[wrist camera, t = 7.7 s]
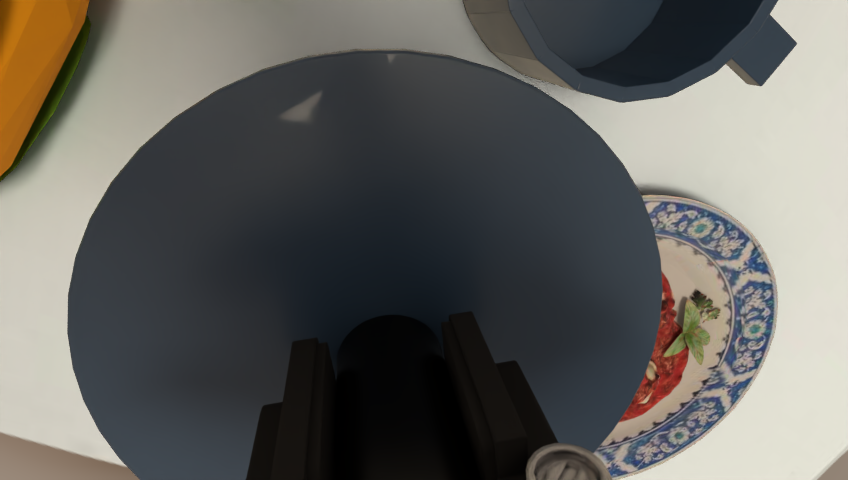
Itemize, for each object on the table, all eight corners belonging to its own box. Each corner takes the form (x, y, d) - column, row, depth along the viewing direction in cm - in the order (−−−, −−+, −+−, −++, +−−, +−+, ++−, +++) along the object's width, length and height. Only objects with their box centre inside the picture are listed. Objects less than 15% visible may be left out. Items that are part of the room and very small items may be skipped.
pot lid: (266, -114, 9) (152, -309, 4) (740, 244, 14) (999, 390, 9) (2, 427, 13) (-254, 731, 8) (449, 567, 18) (497, 817, 12)
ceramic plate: (435, 479, 43) (441, 510, 40) (448, 189, 33) (458, 204, 30) (711, 451, 47) (733, 477, 44) (799, 182, 37) (836, 195, 34)
